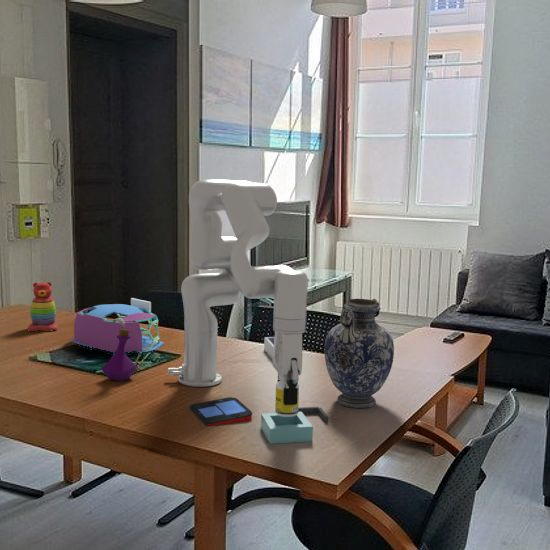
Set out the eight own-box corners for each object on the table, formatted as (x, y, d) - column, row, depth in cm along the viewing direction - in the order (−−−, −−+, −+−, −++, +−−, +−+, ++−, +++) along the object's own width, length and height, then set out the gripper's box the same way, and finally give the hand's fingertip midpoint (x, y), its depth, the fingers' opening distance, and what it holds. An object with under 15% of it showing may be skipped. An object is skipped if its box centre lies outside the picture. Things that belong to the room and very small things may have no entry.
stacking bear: (26, 332, 251) (25, 284, 248) (30, 326, 261) (29, 280, 258) (56, 331, 253) (55, 284, 250) (59, 325, 263) (58, 280, 260)
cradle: (294, 424, 166) (295, 418, 166) (287, 413, 173) (287, 408, 173) (328, 422, 168) (328, 416, 168) (319, 412, 175) (320, 406, 175)
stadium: (59, 340, 241) (58, 301, 239) (114, 329, 260) (114, 293, 257) (122, 359, 219) (122, 316, 217) (177, 346, 238) (177, 306, 236)
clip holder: (274, 362, 221) (274, 348, 220) (264, 349, 236) (264, 337, 235) (296, 361, 222) (297, 347, 222) (285, 349, 237) (285, 336, 237)
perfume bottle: (137, 377, 200) (138, 317, 197) (122, 384, 193) (121, 322, 190) (117, 373, 203) (117, 314, 200) (101, 380, 196) (100, 319, 193)
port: (269, 443, 153) (270, 428, 153) (260, 427, 163) (261, 413, 162) (312, 441, 155) (312, 426, 155) (300, 425, 165) (301, 411, 165)
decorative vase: (341, 385, 198) (347, 291, 193) (402, 398, 188) (409, 299, 184) (307, 405, 179) (312, 302, 175) (372, 421, 170) (379, 312, 166)
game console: (188, 409, 176) (188, 400, 175) (234, 403, 181) (234, 395, 180) (206, 428, 163) (206, 419, 162) (255, 422, 168) (255, 413, 167)
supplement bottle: (274, 409, 161) (275, 369, 160) (296, 409, 161) (298, 370, 160) (276, 417, 156) (277, 376, 154) (299, 417, 156) (301, 376, 155)
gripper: (265, 316, 163) (263, 389, 165) (282, 333, 146) (279, 413, 149) (295, 316, 165) (293, 388, 167) (315, 332, 148) (312, 411, 151)
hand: (286, 399), depth 158 cm, fingers closed on supplement bottle, 5 cm apart
